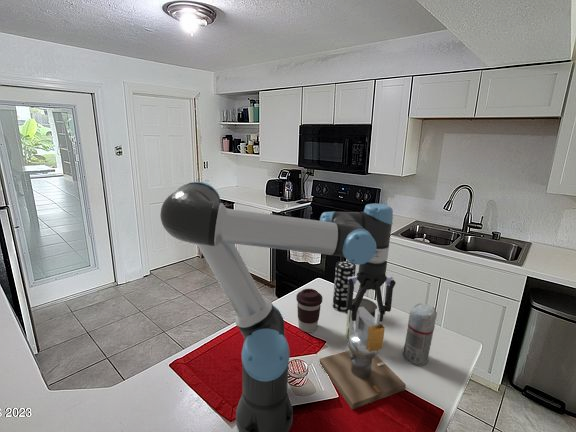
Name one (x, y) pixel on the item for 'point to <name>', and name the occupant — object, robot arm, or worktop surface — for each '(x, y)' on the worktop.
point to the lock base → (361, 378)
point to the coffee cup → (308, 309)
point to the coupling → (366, 336)
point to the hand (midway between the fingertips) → (365, 329)
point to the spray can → (419, 334)
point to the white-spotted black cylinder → (342, 284)
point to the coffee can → (367, 305)
